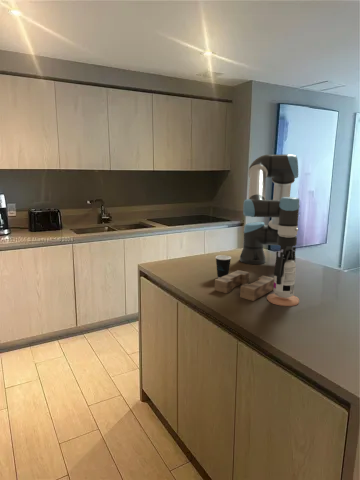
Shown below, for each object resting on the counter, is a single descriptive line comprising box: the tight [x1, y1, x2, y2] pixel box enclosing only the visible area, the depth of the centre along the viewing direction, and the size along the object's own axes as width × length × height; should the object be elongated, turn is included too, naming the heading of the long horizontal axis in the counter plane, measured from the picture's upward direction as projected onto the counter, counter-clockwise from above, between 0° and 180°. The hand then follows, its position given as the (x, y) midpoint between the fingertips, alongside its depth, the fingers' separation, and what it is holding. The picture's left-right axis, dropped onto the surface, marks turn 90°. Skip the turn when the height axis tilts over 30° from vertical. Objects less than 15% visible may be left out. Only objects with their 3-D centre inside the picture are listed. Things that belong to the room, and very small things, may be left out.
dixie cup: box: [214, 254, 232, 279], centre depth 174 cm, size 8×8×11 cm
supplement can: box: [272, 260, 297, 298], centre depth 144 cm, size 8×8×15 cm
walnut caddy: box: [214, 269, 274, 302], centre depth 159 cm, size 20×20×5 cm
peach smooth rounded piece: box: [266, 292, 300, 307], centre depth 146 cm, size 13×13×1 cm
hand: (283, 288), depth 145 cm, fingers closed on supplement can, 8 cm apart
